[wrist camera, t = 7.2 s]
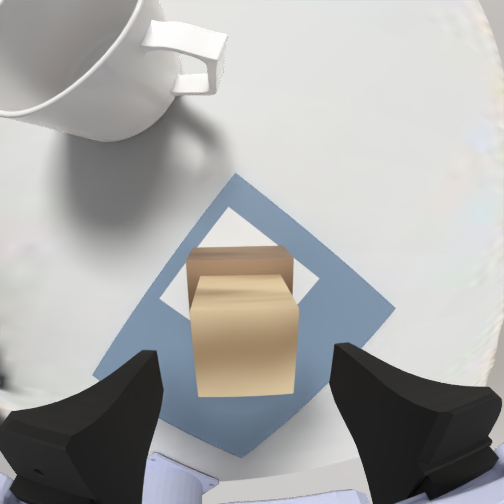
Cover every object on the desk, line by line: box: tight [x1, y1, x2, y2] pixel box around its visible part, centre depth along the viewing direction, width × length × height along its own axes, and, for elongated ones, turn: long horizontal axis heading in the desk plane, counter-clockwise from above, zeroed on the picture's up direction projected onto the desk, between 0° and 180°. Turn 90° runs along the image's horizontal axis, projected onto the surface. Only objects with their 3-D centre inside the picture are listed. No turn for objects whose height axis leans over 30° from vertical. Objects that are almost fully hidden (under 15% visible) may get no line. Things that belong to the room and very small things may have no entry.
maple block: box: [190, 274, 299, 397], centre depth 15 cm, size 4×4×5 cm
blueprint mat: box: [93, 173, 396, 458], centre depth 23 cm, size 20×16×1 cm
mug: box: [0, 0, 228, 142], centre depth 13 cm, size 12×9×11 cm
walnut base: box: [186, 246, 294, 344], centre depth 20 cm, size 6×6×4 cm
